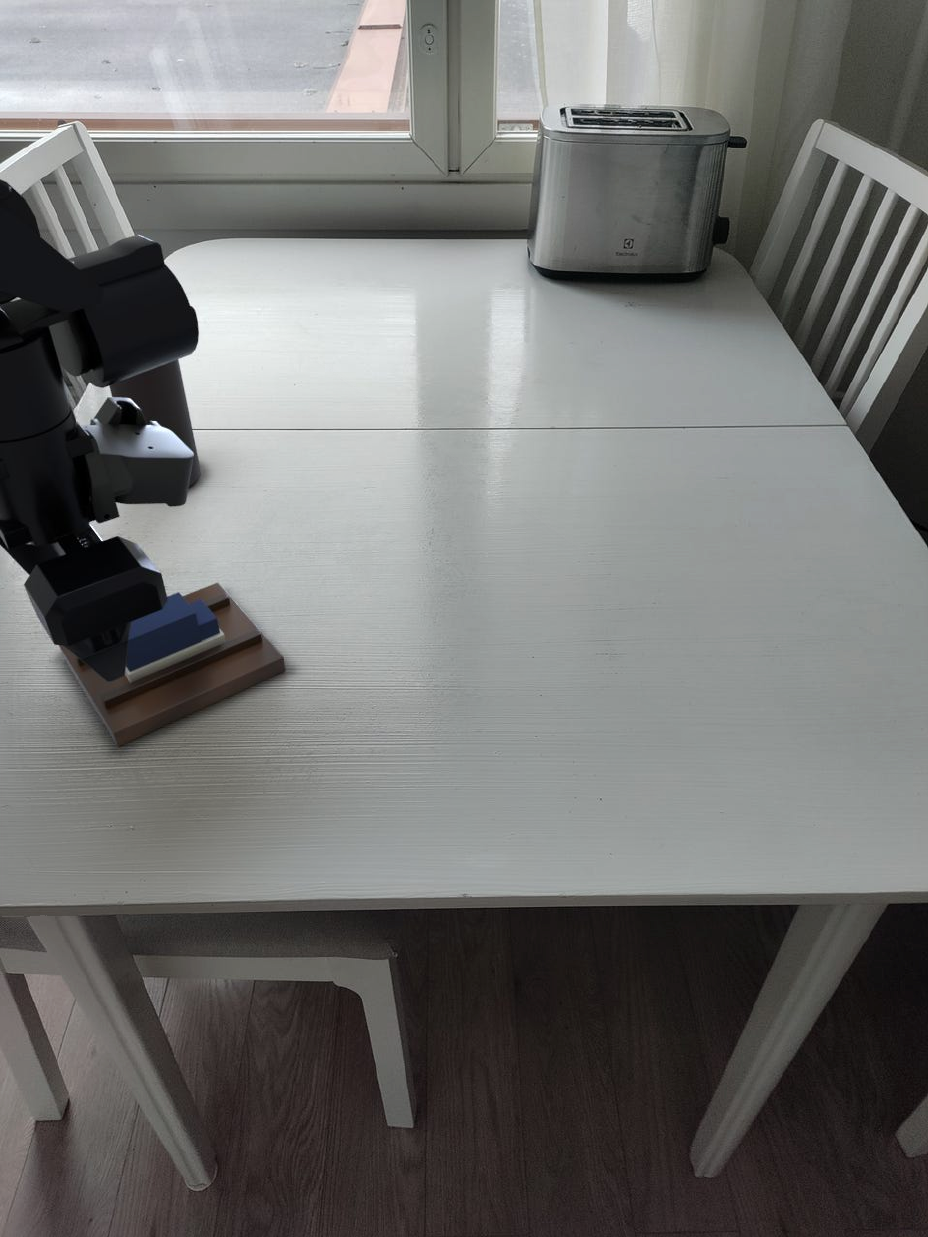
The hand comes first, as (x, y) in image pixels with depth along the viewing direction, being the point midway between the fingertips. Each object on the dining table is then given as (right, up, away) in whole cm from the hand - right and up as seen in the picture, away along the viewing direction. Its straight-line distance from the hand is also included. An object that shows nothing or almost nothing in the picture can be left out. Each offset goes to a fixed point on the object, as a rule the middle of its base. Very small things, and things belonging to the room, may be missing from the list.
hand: (88, 637), depth 61 cm
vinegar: (-7, +16, +39) cm, 42 cm away
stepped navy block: (0, -1, +16) cm, 16 cm away
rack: (0, -3, +17) cm, 17 cm away
